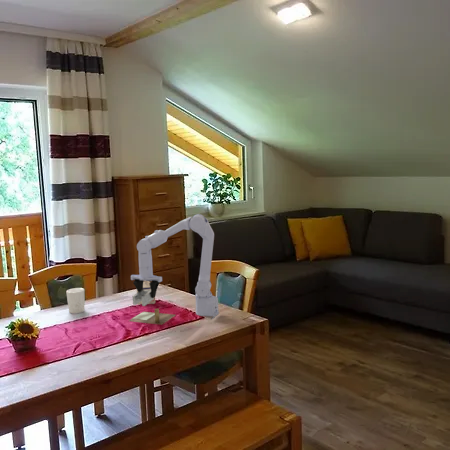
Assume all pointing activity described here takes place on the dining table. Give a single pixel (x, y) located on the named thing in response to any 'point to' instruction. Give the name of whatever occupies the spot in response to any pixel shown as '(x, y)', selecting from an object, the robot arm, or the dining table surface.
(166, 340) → the dining table surface
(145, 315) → the board
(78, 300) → the white cup
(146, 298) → the c link
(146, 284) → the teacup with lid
